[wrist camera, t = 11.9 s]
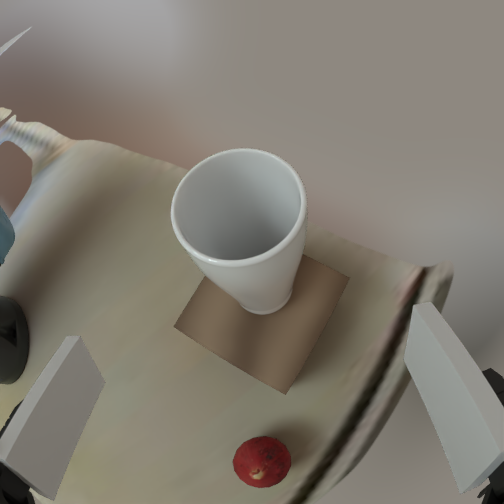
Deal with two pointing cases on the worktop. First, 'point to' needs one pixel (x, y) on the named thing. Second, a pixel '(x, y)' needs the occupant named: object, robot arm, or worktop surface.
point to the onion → (262, 462)
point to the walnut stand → (265, 325)
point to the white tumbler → (244, 225)
